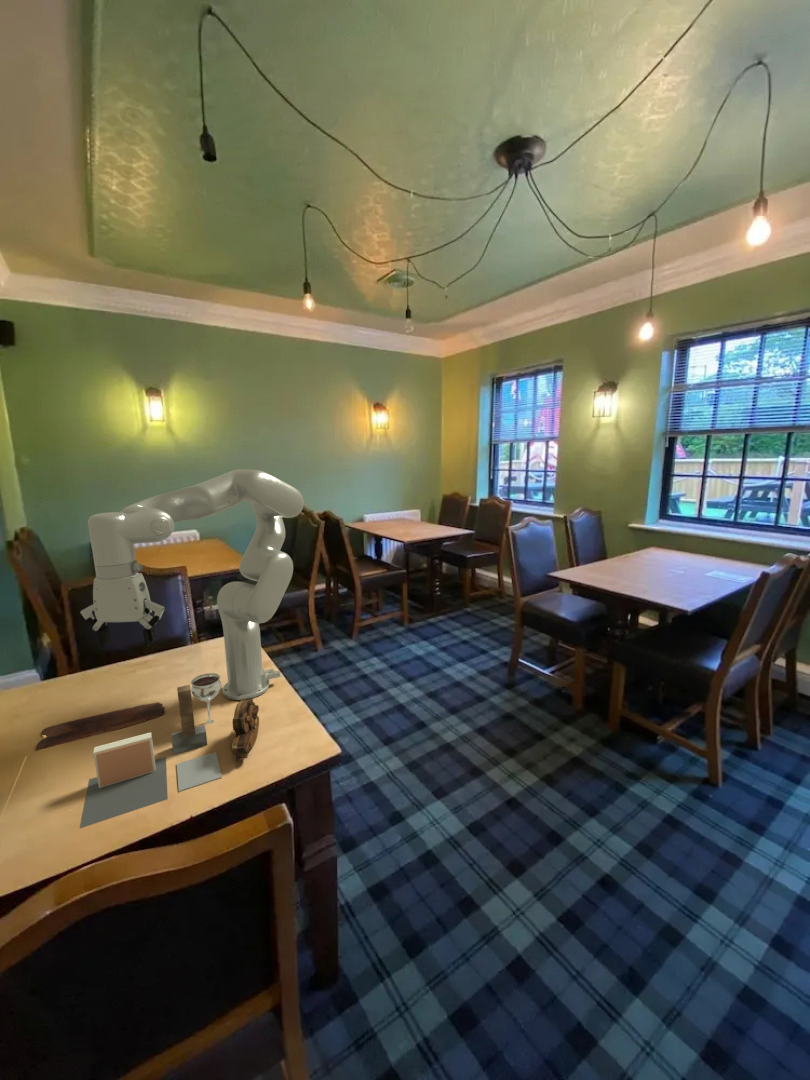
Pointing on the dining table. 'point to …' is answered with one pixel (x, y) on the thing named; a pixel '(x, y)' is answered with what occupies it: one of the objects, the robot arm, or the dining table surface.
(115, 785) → the rubber mat
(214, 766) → the pad
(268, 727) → the dining table surface
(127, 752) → the tile
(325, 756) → the dining table surface
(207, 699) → the wineglass
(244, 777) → the dining table surface
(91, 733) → the wooden tablet
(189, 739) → the brown grey t-shaped piece
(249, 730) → the wooden carving
